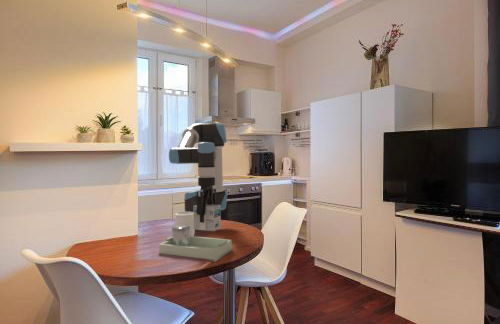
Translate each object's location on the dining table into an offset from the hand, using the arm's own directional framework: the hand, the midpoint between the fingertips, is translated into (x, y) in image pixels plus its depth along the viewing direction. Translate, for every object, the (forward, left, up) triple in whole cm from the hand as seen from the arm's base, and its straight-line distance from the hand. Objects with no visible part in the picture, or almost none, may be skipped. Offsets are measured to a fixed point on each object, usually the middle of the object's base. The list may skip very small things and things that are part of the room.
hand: (207, 227), depth 140 cm
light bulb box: (0, 0, -1) cm, 1 cm away
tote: (0, -6, -12) cm, 13 cm away
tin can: (0, -14, -11) cm, 18 cm away
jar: (-15, -21, -12) cm, 28 cm away
